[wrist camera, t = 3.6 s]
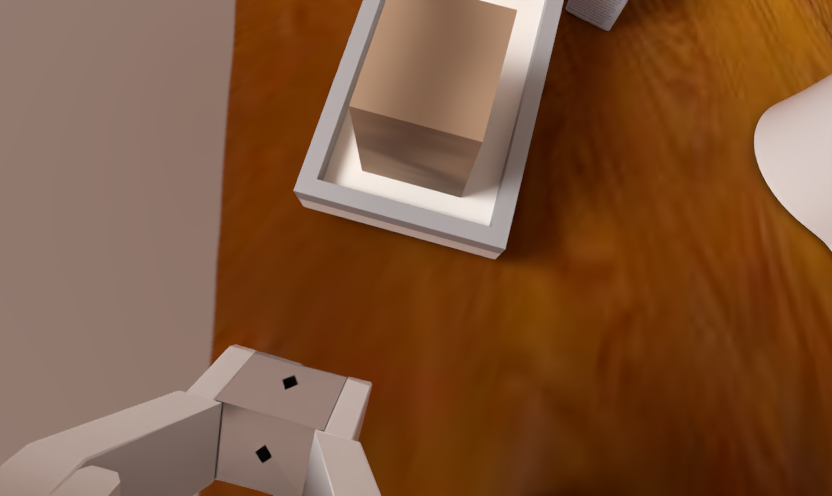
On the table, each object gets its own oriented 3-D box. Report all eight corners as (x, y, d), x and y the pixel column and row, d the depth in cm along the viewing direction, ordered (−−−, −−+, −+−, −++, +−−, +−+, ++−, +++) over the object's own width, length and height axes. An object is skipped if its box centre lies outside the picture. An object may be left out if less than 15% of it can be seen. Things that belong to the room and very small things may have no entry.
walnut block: (488, 95, 27) (517, 9, 21) (460, 197, 26) (482, 142, 19) (395, 70, 28) (393, -23, 21) (362, 170, 26) (348, 105, 19)
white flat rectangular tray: (579, -93, 33) (594, -132, 30) (494, 259, 27) (505, 249, 24) (424, -132, 33) (426, -174, 31) (303, 206, 27) (293, 190, 24)
